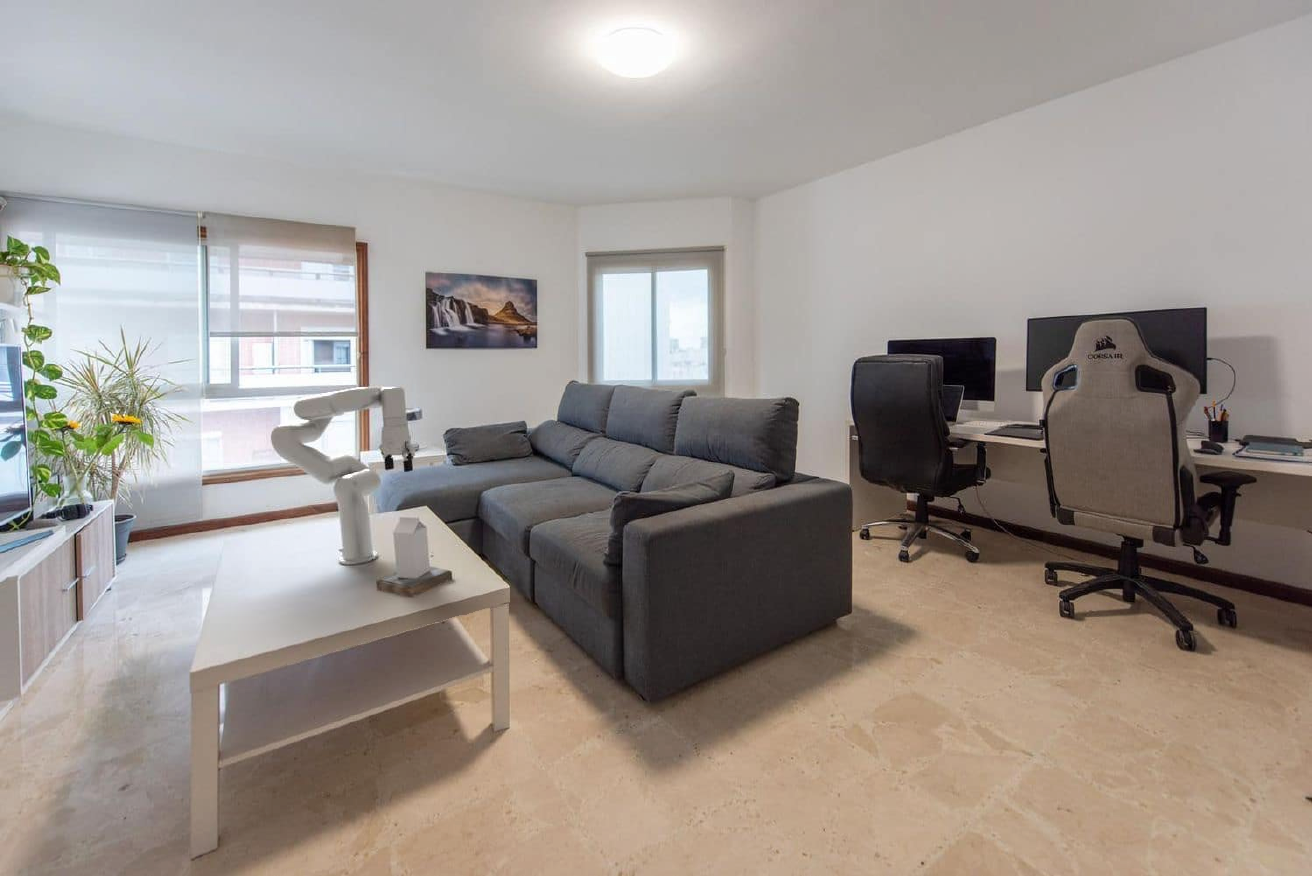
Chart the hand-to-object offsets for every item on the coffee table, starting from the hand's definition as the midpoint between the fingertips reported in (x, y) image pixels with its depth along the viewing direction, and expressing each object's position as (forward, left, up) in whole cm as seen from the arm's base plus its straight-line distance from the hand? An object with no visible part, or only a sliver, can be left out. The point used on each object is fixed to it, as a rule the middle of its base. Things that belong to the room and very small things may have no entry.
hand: (399, 470), depth 201 cm
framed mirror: (+21, -14, -33) cm, 42 cm away
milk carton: (+21, -14, -31) cm, 39 cm away
